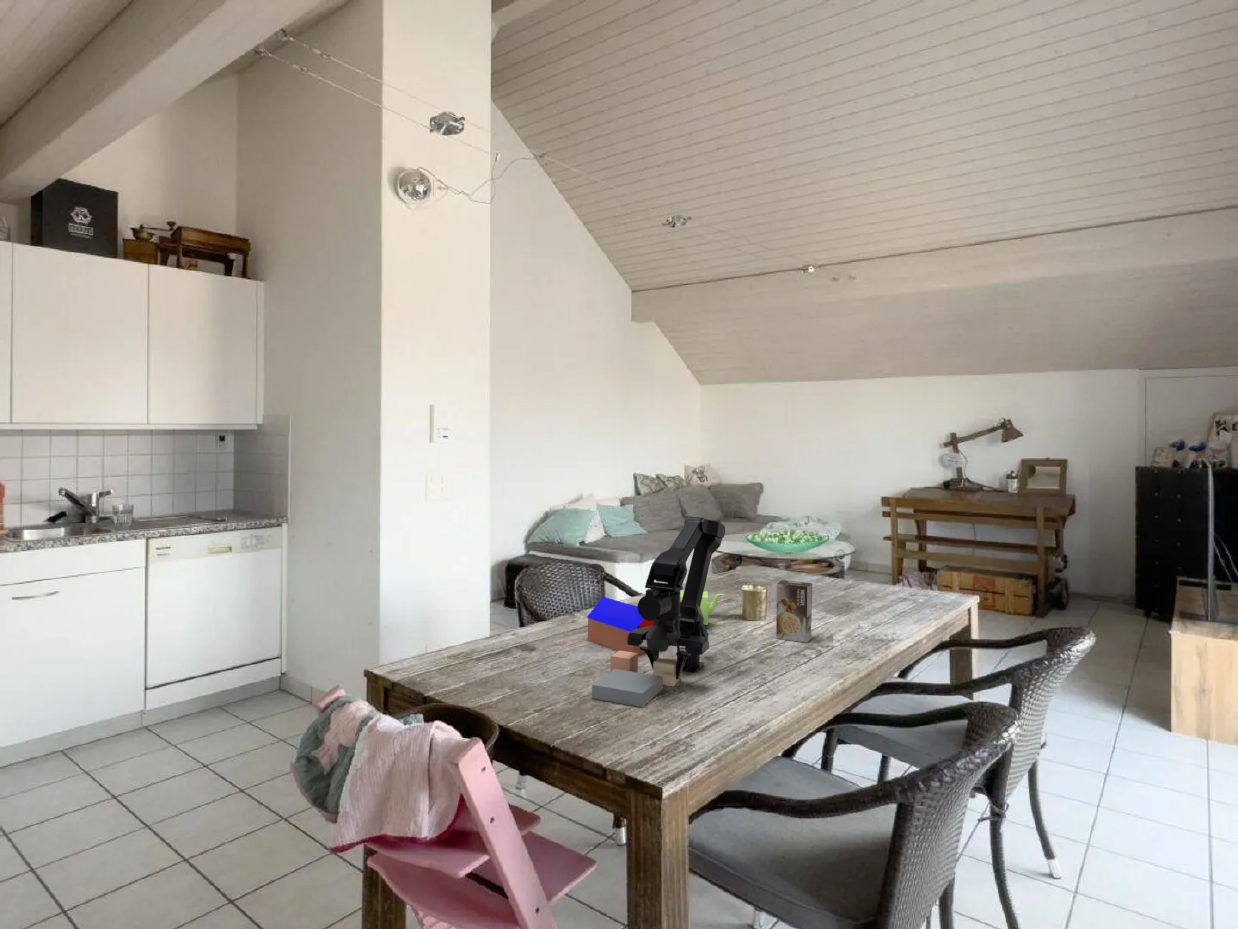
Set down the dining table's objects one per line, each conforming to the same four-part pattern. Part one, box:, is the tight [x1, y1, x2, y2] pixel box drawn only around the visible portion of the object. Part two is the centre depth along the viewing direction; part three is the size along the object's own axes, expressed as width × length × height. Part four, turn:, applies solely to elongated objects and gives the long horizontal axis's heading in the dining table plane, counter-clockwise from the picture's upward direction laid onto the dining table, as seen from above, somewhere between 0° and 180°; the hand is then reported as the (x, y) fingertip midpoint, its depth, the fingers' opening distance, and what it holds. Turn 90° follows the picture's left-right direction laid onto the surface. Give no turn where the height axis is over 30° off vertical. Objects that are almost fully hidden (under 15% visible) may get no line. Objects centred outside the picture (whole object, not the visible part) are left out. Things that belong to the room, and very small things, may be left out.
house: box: [586, 596, 653, 656], centre depth 200 cm, size 12×20×12 cm, turn 40°
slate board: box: [591, 669, 664, 708], centre depth 162 cm, size 12×12×3 cm
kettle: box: [680, 590, 725, 626], centre depth 221 cm, size 15×14×11 cm
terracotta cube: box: [609, 651, 639, 673], centre depth 175 cm, size 5×5×5 cm
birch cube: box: [652, 655, 682, 687], centre depth 170 cm, size 5×5×5 cm
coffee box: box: [775, 579, 813, 644], centre depth 208 cm, size 9×6×16 cm
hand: (666, 677), depth 170 cm, fingers closed on birch cube, 5 cm apart
